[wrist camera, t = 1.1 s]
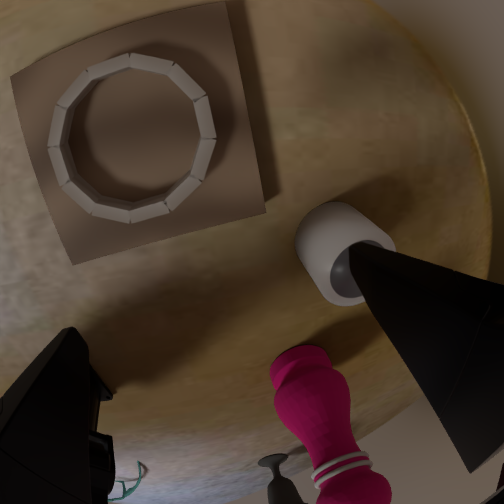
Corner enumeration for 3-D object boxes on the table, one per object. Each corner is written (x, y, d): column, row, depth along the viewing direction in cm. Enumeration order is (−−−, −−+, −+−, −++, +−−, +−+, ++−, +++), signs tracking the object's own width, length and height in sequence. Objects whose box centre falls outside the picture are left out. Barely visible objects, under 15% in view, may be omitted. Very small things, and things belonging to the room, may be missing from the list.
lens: (363, 259, 26) (394, 292, 22) (298, 278, 26) (321, 317, 21) (362, 194, 23) (399, 220, 19) (289, 211, 23) (316, 242, 18)
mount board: (261, 205, 22) (272, 221, 19) (78, 255, 21) (66, 276, 18) (222, 7, 15) (228, -6, 12) (20, 76, 14) (-2, 76, 11)
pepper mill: (341, 360, 32) (421, 516, 15) (287, 394, 33) (344, 551, 16) (311, 328, 29) (406, 523, 12) (250, 368, 30) (307, 561, 13)
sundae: (256, 454, 40) (279, 539, 27) (297, 449, 42) (325, 528, 29) (248, 469, 43) (268, 545, 30) (286, 465, 45) (309, 537, 32)
